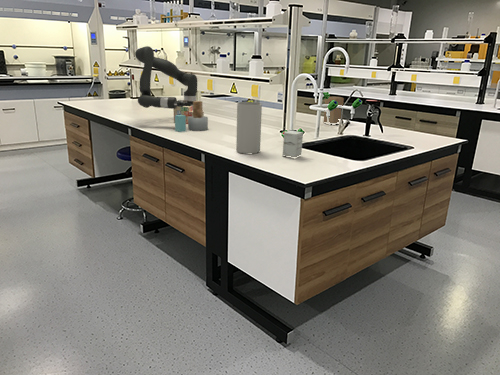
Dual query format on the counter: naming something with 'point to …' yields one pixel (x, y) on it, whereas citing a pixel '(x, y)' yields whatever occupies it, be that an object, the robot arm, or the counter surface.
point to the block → (336, 112)
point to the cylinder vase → (248, 127)
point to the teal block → (180, 123)
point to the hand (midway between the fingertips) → (192, 103)
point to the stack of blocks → (184, 112)
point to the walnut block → (197, 109)
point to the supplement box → (292, 143)
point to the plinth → (198, 123)
